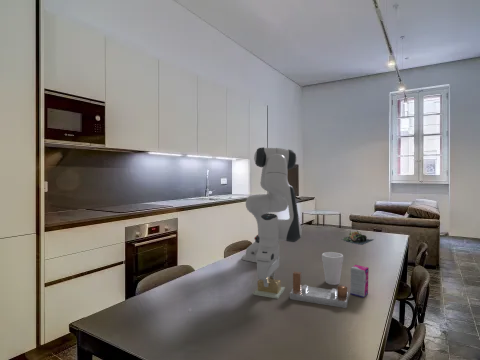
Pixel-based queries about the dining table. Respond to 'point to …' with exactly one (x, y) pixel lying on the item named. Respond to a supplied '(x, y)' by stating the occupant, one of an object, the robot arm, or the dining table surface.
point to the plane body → (318, 293)
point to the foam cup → (332, 267)
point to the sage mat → (269, 293)
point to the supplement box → (359, 281)
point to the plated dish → (357, 238)
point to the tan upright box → (270, 286)
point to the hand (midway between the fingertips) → (269, 283)
